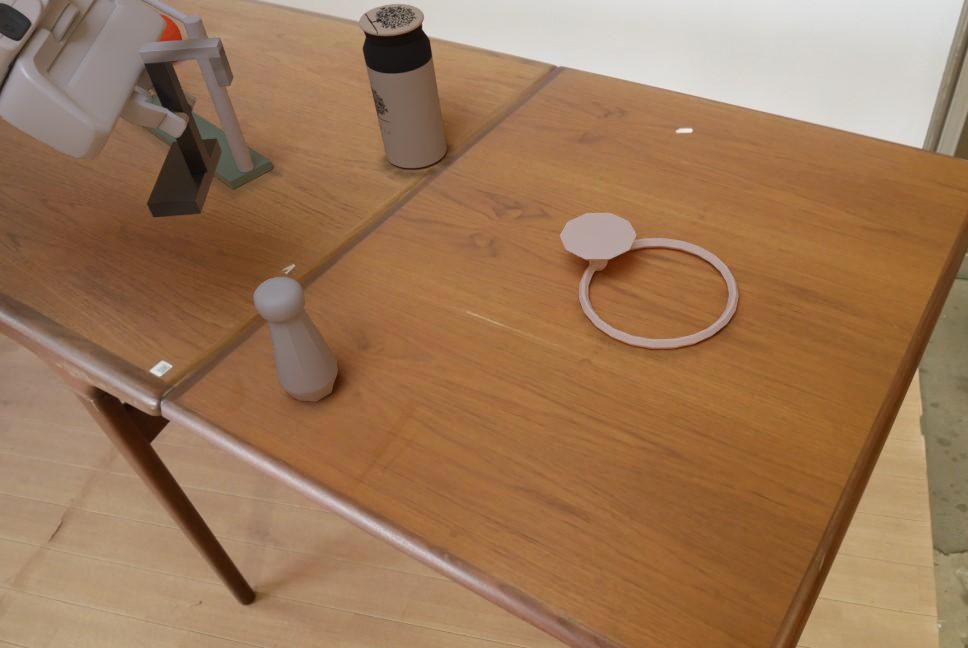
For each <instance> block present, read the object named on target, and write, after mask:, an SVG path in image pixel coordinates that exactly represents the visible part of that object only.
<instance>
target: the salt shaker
mask: <svg viewBox="0 0 968 648" xmlns="http://www.w3.org/2000/svg"><path fill="white" fill-rule="evenodd" d="M252 295H253V303H254V308H255V310H256V312H257V313H258V314H259V315H260V317H262V319H264V320H265V321H267V324H268V329H269V330H268V331H269V334H270V335H269V336H270V341H271V347H272V351H273V358H274V359H273V360H274V366H275V372H276V380H277V383H278V385H279V386H280V387H281V388H282V389H283V390H284V391H285V393H287V394H288V395H290V396H291V397H293V398H294V399H295V400H296V401H300V402H309V403H317V402H318V401H320V400H322V399H323V398H325V397H327V396H328V395H330V394H331V393H333V387H334V384H335V381H336V378H337V375H338V373H339V366H338V359H337V357H336V355H335V353H334V352H333V351H332V348H331V347H330V346H329V345H328V343H327V341H326V340H325V338H324V337H323V335H322V333H321V332H320V331H319V329H318V328H317V327H316V324H315V323H314V322H313V320H312V319H311V317H310V316H309V314H308V313H307V311H306V310H305V308H304V307H305V305H306V295H305V292H304V289H303V287H302V285H301V284H300V283H299V282H298V281H297V280H296V279H295V278H291V277H288V276H274V277H270V278H268V279H265V280H264V281H263V282H262V283H260V284H259V285H258V286H257V288H256V289H255V290H254V292H253V294H252Z"/></svg>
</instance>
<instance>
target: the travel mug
mask: <svg viewBox="0 0 968 648" xmlns="http://www.w3.org/2000/svg"><path fill="white" fill-rule="evenodd" d="M358 20H359V21H358V26H359V28H360V29H361V30H362V31H363V34H364V36H365V39H364V42H363V45H362V53H363V57H364V62H365V67H366V70H367V77H368V80H369V85H370V89H371V94H372V98H373V103H374V107H375V113H376V117H377V122H378V127H379V130H380V134H381V138H382V145H383V149H384V153H385V158H386V159H387V161H388V162H389V163H390V164H391V165H394V166H396V167H399V168H403V169H404V168H405V169H420V168H424V167H428V166H430V165H433V164H435V163H437V162H439V161H440V160H441V159H442V158H443V157H444V156H445V155H446V153H447V151H448V146H447V139H446V134H445V128H444V122H443V115H442V107H441V104H440V103H441V102H440V95H439V90H438V89H439V88H438V83H437V82H438V81H437V76H436V70H435V64H434V59H433V51H432V46H431V44H432V43H431V40H430V38H429V36H428V35H427V34H426V33H425V31H424V29H423V22H424V20H425V15H424V12H423V11H422V10H421V9H420V8H418V7H417V6H414V5H410V4H405V3H392V4H391V3H390V4H384V5H380V6H377V7H374V8H371V9H369V10H367V11H366V12H364V13H363V14H362V15H361V16H360V18H359V19H358Z"/></svg>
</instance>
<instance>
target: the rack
mask: <svg viewBox="0 0 968 648" xmlns="http://www.w3.org/2000/svg"><path fill="white" fill-rule="evenodd" d="M141 1H142V2H144V3H145V4H147V5H149V6H150V7H152V8H153V9H155V10H157V11H159V12H162V13H163V14H166V15H168V16H169V17H171V18H173V19H175V20H176V21H178V22H180V23H182V24H183V27H184V30H185V33H186V34H187V37H188V40H190V39H204V38H209V36H208V34H207V31H206V28H205V25H204V23H203V19H202V17H201V16H200V15H197V14H192V15H188V14H187V13H184V12H183V11H181V10H179V9H177V8H175V7H173V6H171V5H169V4H167V3H165V2H164V1H161V0H141ZM196 61H197V64H198V67H199V70H200V72H201V75H202V77H203V80H204V82H205V86H206V88H207V91H208V93H209V96H210V99H211V101H212V104H213V107H214V109H215V111H216V114H217V117H218V120H219V123H220V125H221V128H222V129H221V128H219V127H218V126H216V125H215V124H213V123H211V122H210V121H208V120H207V119H205V118H204V117H202V116H200V115H199V114H198V113H196V112H194V111H192V115H193V118H194V120H195V123H196V125H197V128H198V130H199V133H200V135H201V138H202V139H215V138H217V140H218V143H219V145H220V148H221V151H222V153H221V156H220V159H219V162H218V165H217V168H216V171H215V174H214V177H215V178H216V179H217V180H219V181H220V182H222V183H223V184H225V185H226V186H227V187H229V188H230V189H232V190H236V189H237V188H239V187H241V186H243V185H245V184H247V183H248V182H251V181H253V180H254V179H257V178H259V177H261V176H262V175H264V174H266V173H267V172H270V171H272V170H273V169H274V167H273V164H272V161H271V159H268V158H267V157H265V156H263V155H262V154H260V153H259V152H257V151H256V150H254V149H252V148H251V147H249V146H248V145H247V142H246V140H245V136H244V133H243V131H242V128H241V125H240V122H239V120H238V117H237V114H236V111H235V109H234V105H233V103H232V100H231V97H230V94H229V92H228V89H227V86H224V87H219V86H218V83H217V80H216V78H215V75H214V72H213V69H212V67H211V64H210V61H209V59H196ZM134 90H135V91H137V92H139V93H140V94H142V95H144V96H145V97H147V101H146V102H148V103H151V104H154V105H157V106H160V107H162V105H161V103H160V100H159V98H158V96H157V95H156V94H155V93H154V94H153V95H151V92H150V91H149V92H148V91H146V90H144V89H142V88H140V87H139V86H137V85H136V87H135V89H134ZM141 127H142V128H144V129H145V130H146V131H148V132H149V133H151V134H152V135H154V136H155V137H156V138H158V139H159V140H160V141H162V142H164V143H165V144H167V145H168V146H169V147H171V144H172V142H176V138H175V137H172V136H171V135H169V134H167V133H165V132H164V131H162V130H160V129H158V128H157V129H156V128H151V127H145V126H141Z"/></svg>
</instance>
